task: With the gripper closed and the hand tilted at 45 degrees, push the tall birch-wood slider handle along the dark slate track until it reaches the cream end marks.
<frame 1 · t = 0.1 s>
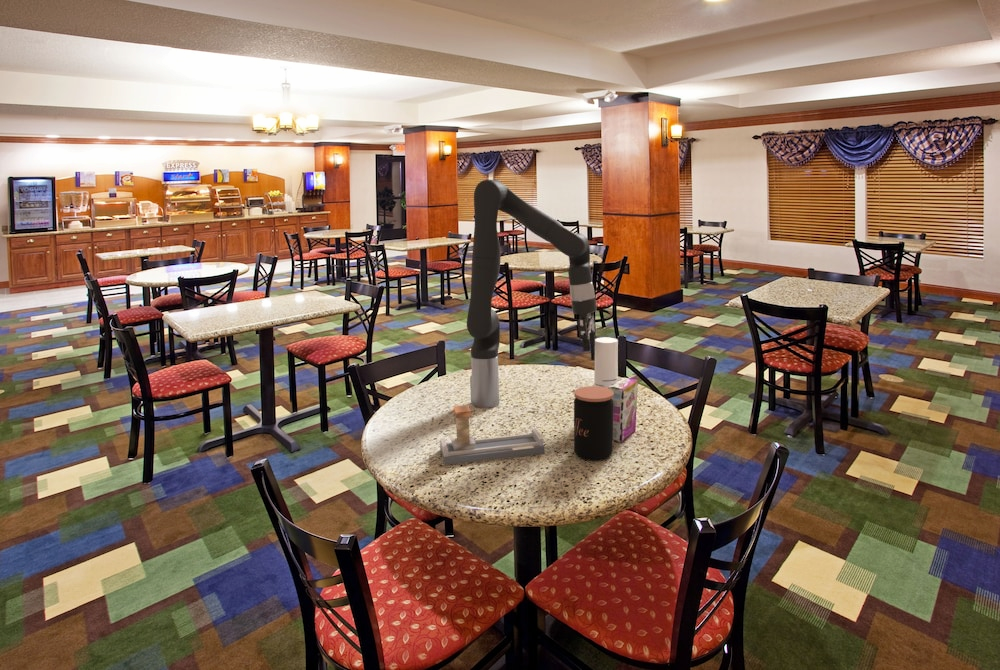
hand: (589, 347, 192), 22 cm above the table, tool pointing down, fingers open, 8 cm apart
slider: (462, 428, 167), point 8 cm above the table, slide at 0.0 cm
track: (491, 451, 170), on the table
coffee jar: (593, 454, 168), on the table
candy bar box: (621, 435, 180), on the table
cylindrical container: (605, 415, 196), on the table
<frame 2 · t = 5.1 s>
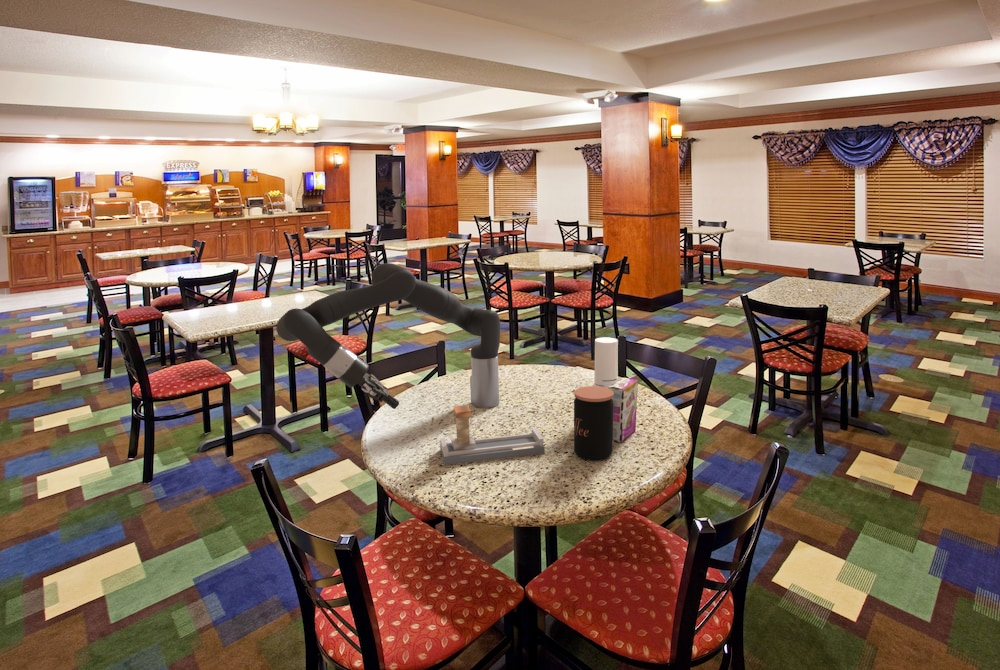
hand: (396, 405, 161), 17 cm above the table, tool tilted 45°, fingers closed
nothing on the table moved.
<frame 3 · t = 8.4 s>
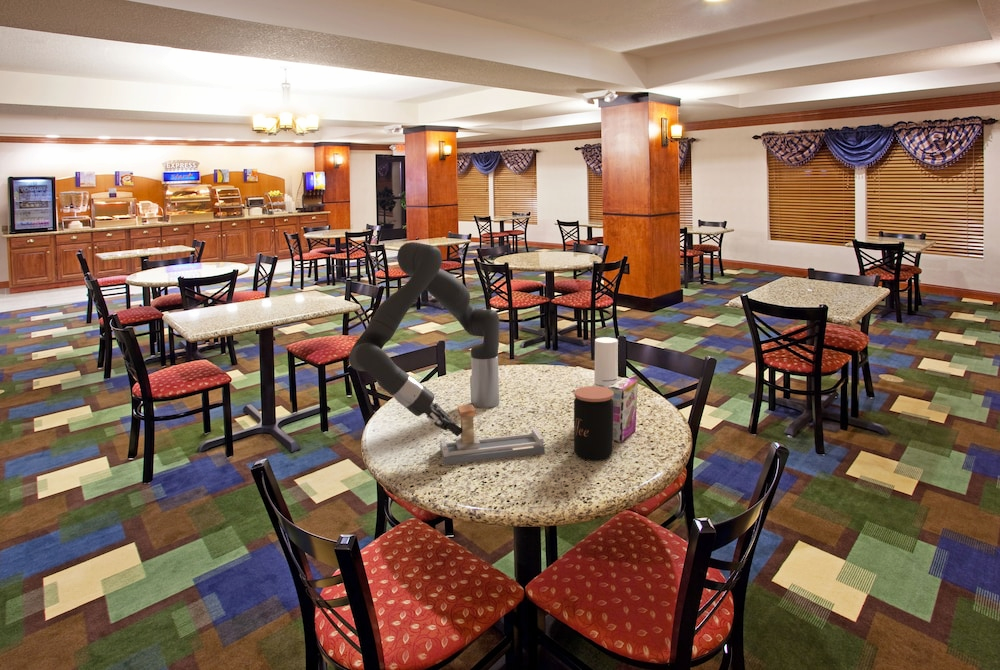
hand: (459, 432, 167), 7 cm above the table, tool tilted 45°, fingers closed
slider: (467, 427, 167), point 8 cm above the table, slide at 1.2 cm, touching gripper
everything else where it was.
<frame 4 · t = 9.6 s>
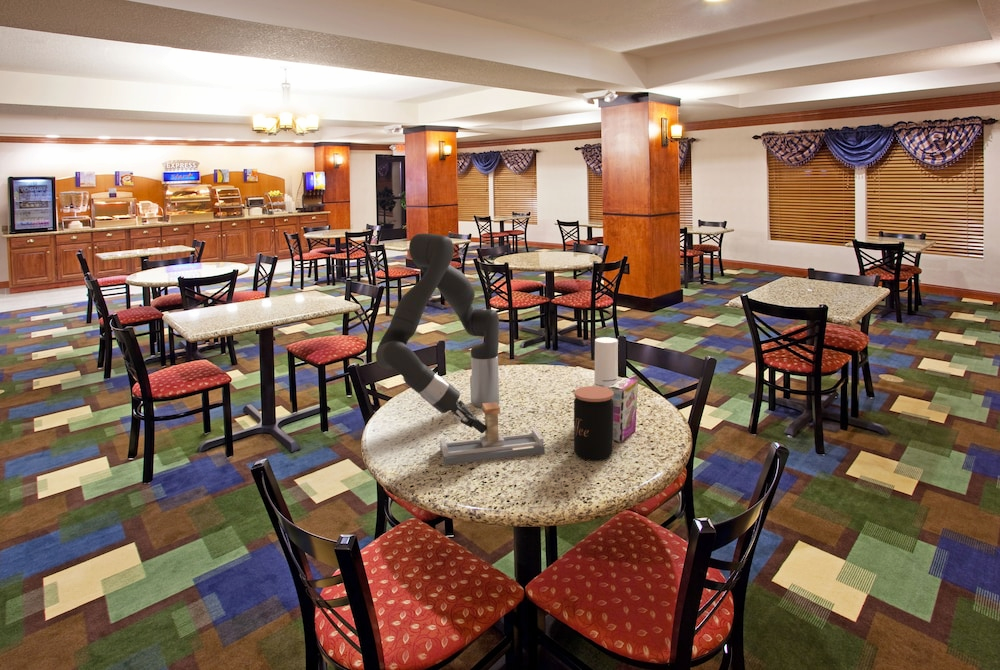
hand: (484, 430, 168), 7 cm above the table, tool tilted 45°, fingers closed
slider: (491, 425, 168), point 8 cm above the table, slide at 8.1 cm, touching gripper
everything else where it was.
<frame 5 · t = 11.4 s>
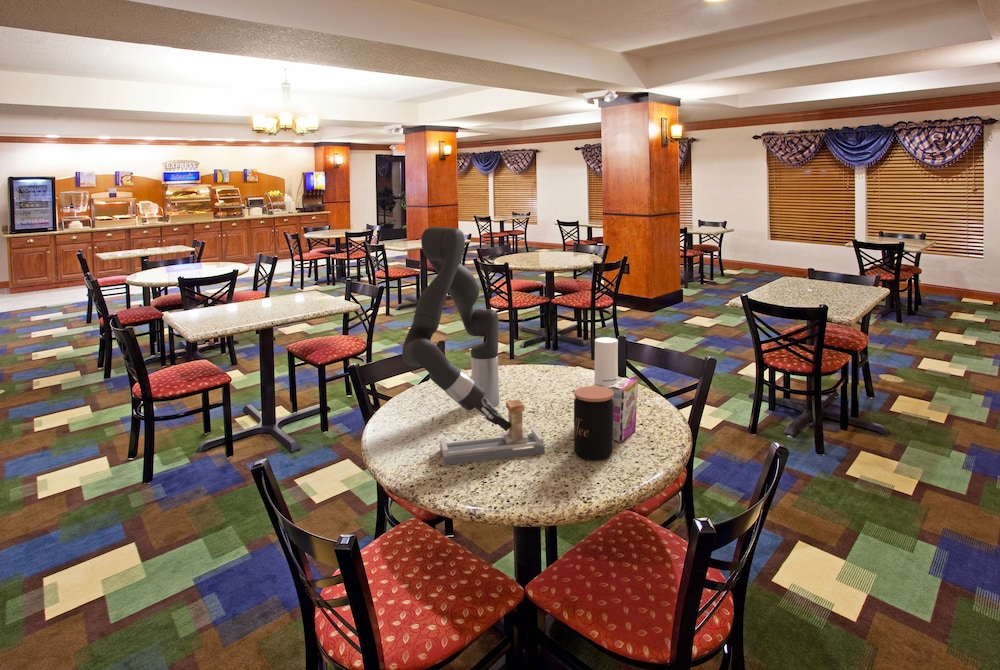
hand: (508, 427, 170), 7 cm above the table, tool tilted 45°, fingers closed
slider: (515, 422, 170), point 8 cm above the table, slide at 15.0 cm, touching gripper
everything else where it was.
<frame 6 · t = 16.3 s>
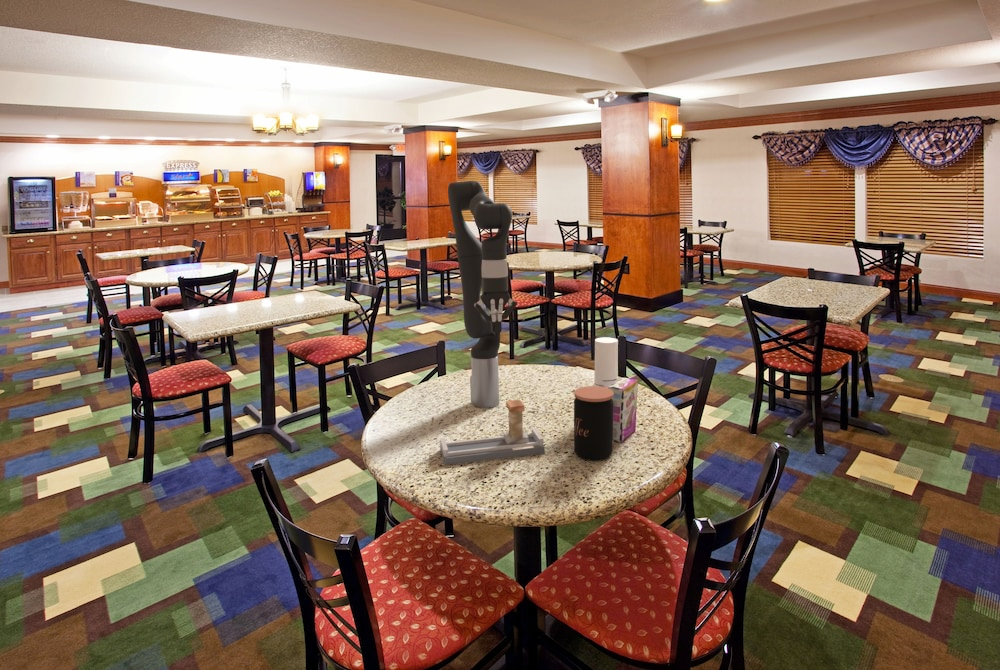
hand: (496, 333, 177), 31 cm above the table, tool pointing down, fingers closed
slider: (515, 422, 170), point 8 cm above the table, slide at 15.1 cm
everything else where it was.
at the end: slider slide at 15.1 cm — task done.
